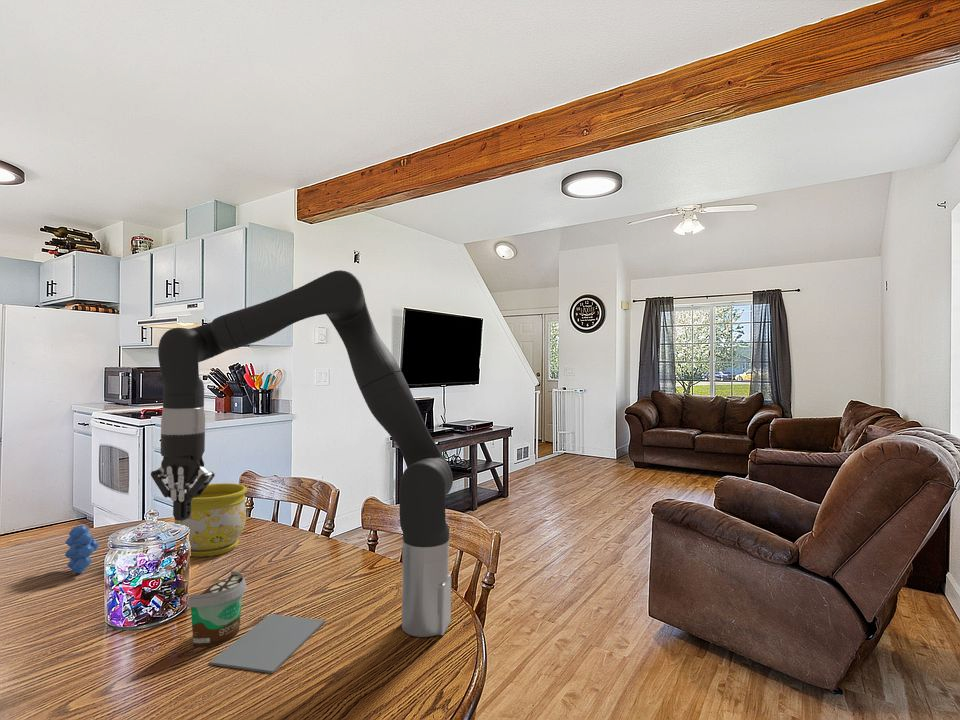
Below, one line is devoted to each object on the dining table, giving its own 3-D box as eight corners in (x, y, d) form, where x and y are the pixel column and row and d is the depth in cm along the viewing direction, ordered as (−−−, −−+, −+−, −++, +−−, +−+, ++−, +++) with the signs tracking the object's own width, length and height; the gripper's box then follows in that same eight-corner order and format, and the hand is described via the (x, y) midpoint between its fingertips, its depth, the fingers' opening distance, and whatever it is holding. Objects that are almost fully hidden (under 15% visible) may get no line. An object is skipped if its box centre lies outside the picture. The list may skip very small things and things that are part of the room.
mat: (324, 622, 106) (324, 620, 106) (272, 673, 89) (272, 671, 89) (270, 615, 109) (270, 613, 109) (209, 664, 91) (209, 662, 91)
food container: (217, 655, 94) (218, 599, 94) (187, 651, 95) (188, 595, 95) (259, 622, 106) (260, 572, 106) (232, 618, 107) (233, 569, 107)
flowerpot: (259, 546, 150) (260, 488, 150) (197, 566, 134) (198, 502, 134) (222, 534, 159) (223, 480, 159) (160, 552, 144) (161, 492, 144)
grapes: (109, 573, 129) (110, 524, 129) (76, 582, 124) (77, 531, 124) (90, 562, 136) (91, 515, 136) (58, 570, 130) (59, 522, 131)
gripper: (226, 429, 105) (224, 516, 105) (169, 427, 108) (167, 511, 108) (199, 434, 98) (197, 527, 98) (138, 431, 100) (136, 522, 100)
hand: (181, 519), depth 103 cm, fingers closed
